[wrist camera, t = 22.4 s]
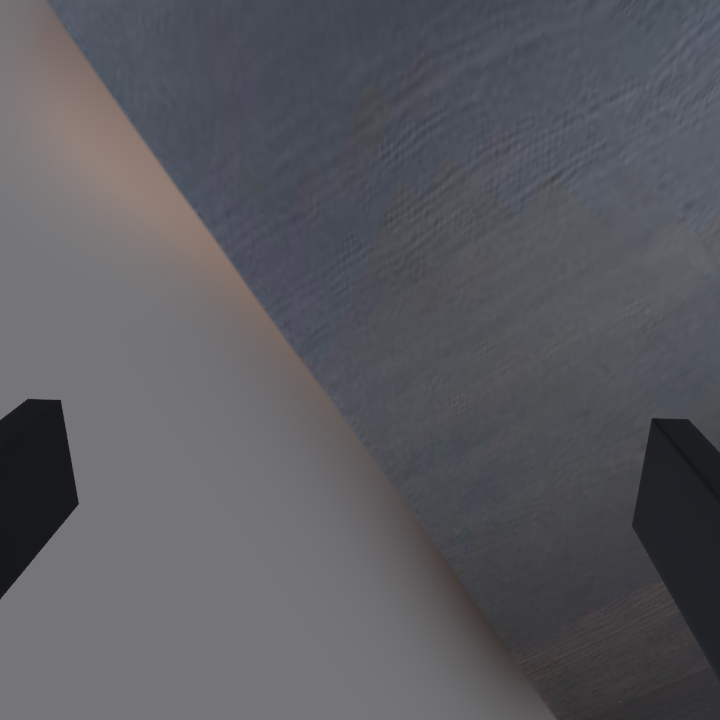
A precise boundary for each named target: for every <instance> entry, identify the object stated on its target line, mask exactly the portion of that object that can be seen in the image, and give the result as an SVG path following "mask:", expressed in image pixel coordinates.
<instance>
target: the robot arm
mask: <svg viewBox="0 0 720 720" xmlns="http://www.w3.org/2000/svg"><path fill="white" fill-rule="evenodd" d="M78 504H79V503H78V497H77V491H76V485H75V480H74V474H73V468H72V462H71V457H70V451H69V445H68V439H67V433H66V428H65V422H64V416H63V411H62V405H61V400H40V399H38V400H37V399H27V400H26V401H25V402H23V403H22V404H21V405H20V406H18V407H17V408H16V409H14V410H13V411H12V412H11V413H9V414H8V415H7V416H5V417H4V418H3V419H1V420H0V599H1V597H2V596H3V595H4V594H5V593H6V591H7V590H8V589H9V588H10V587H11V585H12V584H13V583H14V582H15V581H16V579H17V578H18V577H19V576H20V575H21V573H22V572H23V571H24V570H25V568H26V567H27V566H28V565H29V564H30V562H31V561H32V560H33V559H34V558H35V556H36V555H37V554H38V553H39V552H40V550H41V549H42V548H43V547H44V546H45V544H46V543H47V542H48V540H49V539H50V538H51V537H52V536H53V535H54V533H55V532H56V531H57V530H58V529H59V527H60V526H61V525H62V524H63V523H64V521H65V520H66V519H67V518H68V516H69V515H70V514H71V513H72V511H73V510H74V509H75V508H76V507H77V505H78ZM632 527H633V528H634V530H635V532H636V534H637V536H638V537H639V539H640V541H641V543H642V544H643V546H644V548H645V550H646V551H647V553H648V555H649V557H650V559H651V560H652V562H653V564H654V566H655V567H656V569H657V571H658V573H659V575H660V576H661V578H662V580H663V582H664V583H665V585H666V587H667V589H668V591H669V592H670V594H671V596H672V598H673V599H674V601H675V603H676V605H677V606H678V608H679V610H680V612H681V614H682V615H683V617H684V619H685V621H686V622H687V624H688V626H689V628H690V630H691V631H692V633H693V635H694V637H695V638H696V640H697V642H698V644H699V646H700V647H701V649H702V651H703V653H704V654H705V656H706V658H707V660H708V662H709V663H710V665H711V667H712V669H713V670H714V672H715V674H716V676H717V677H718V679H719V681H720V453H719V451H718V450H717V449H716V448H715V447H714V446H713V445H712V444H711V443H710V442H709V441H708V440H707V439H706V438H705V437H704V436H703V435H702V433H701V432H700V431H699V430H698V429H697V428H696V427H695V426H694V425H693V424H692V423H691V422H690V421H689V420H688V419H656V418H652V421H651V427H650V432H649V437H648V443H647V448H646V454H645V459H644V464H643V470H642V475H641V481H640V486H639V491H638V497H637V502H636V507H635V513H634V518H633V524H632Z"/></svg>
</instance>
